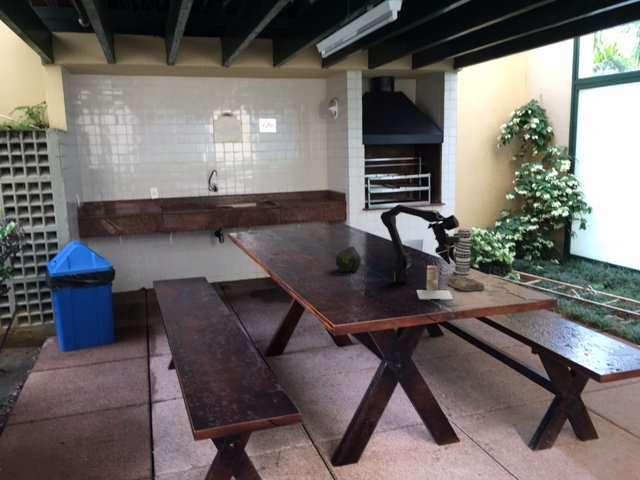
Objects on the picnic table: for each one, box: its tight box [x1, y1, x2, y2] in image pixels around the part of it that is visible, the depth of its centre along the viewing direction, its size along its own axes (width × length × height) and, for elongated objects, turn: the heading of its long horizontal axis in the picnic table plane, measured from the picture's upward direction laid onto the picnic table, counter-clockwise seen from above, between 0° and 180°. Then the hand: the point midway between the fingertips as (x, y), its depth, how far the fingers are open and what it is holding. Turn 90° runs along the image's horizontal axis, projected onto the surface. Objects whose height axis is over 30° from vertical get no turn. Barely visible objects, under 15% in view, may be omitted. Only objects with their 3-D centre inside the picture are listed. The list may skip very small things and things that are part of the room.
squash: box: [335, 246, 362, 273], centre depth 310 cm, size 14×15×15 cm
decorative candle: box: [454, 228, 473, 275], centre depth 303 cm, size 9×9×25 cm
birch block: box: [426, 265, 439, 290], centre depth 268 cm, size 5×5×12 cm
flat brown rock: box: [447, 275, 485, 292], centre depth 276 cm, size 14×5×20 cm
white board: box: [416, 289, 454, 301], centre depth 259 cm, size 16×14×1 cm
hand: (451, 262), depth 269 cm, fingers open, 9 cm apart
